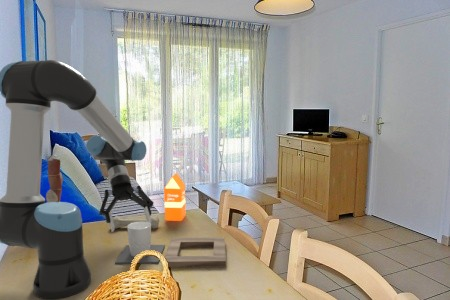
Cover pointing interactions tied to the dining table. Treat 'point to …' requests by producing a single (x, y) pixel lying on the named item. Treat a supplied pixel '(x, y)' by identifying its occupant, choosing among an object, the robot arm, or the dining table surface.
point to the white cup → (139, 237)
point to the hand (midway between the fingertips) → (132, 226)
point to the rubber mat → (127, 258)
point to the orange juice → (175, 199)
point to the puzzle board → (196, 261)
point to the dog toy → (125, 222)
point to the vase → (54, 181)
